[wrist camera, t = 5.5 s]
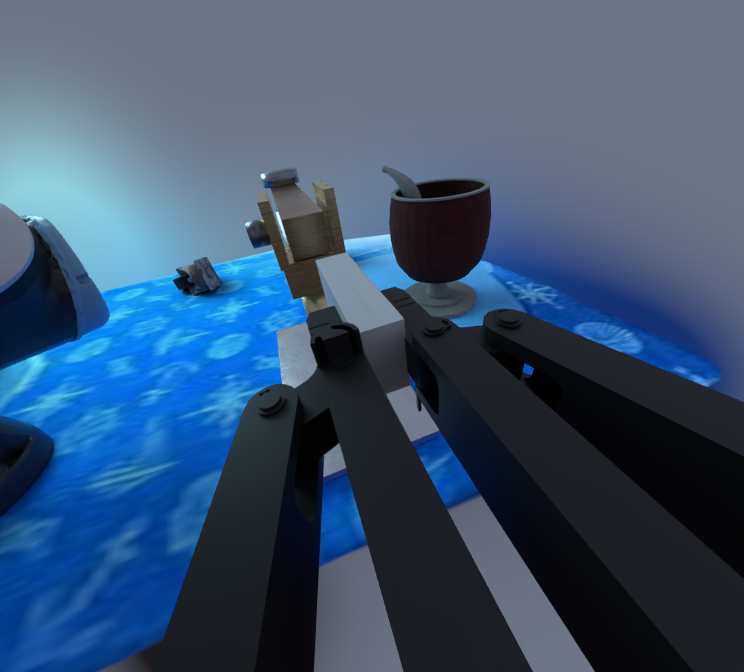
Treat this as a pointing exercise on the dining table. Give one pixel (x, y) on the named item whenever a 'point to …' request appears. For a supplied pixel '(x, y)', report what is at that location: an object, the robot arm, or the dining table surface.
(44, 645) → the dining table surface
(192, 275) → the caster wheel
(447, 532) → the robot arm
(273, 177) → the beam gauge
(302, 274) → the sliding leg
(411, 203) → the mate gourd
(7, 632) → the dining table surface
